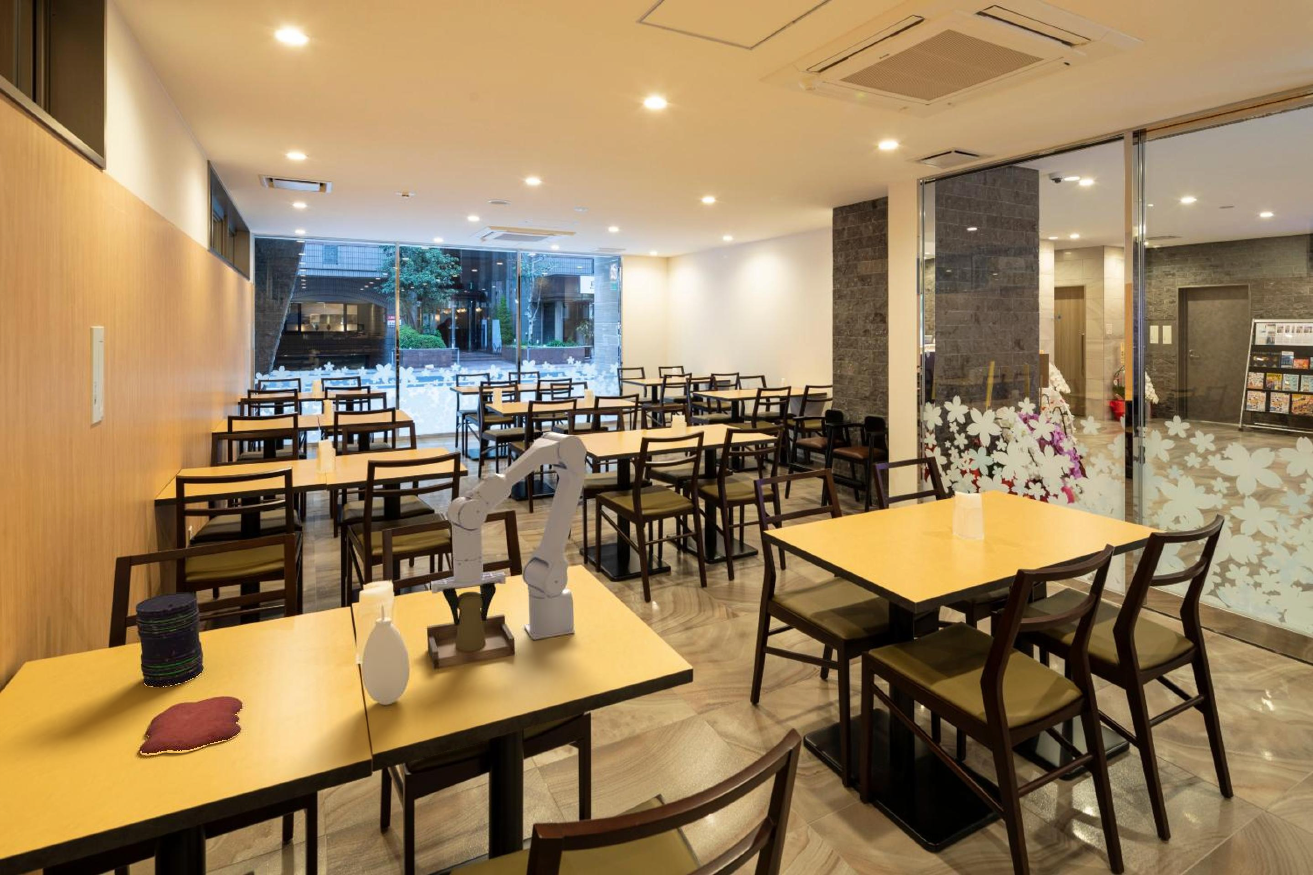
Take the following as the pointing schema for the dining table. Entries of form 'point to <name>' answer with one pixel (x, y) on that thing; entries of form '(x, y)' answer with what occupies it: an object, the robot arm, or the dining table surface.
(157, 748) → the patty
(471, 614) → the olive brown tapered cylinder
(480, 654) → the shelf
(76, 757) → the dining table surface
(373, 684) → the white egg-shaped bulb
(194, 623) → the navy chip stack
